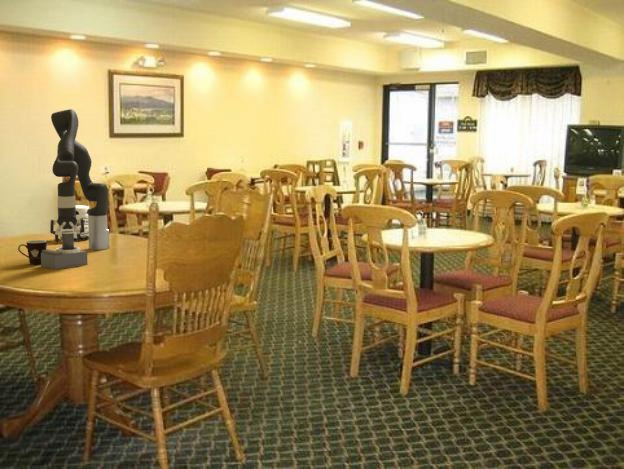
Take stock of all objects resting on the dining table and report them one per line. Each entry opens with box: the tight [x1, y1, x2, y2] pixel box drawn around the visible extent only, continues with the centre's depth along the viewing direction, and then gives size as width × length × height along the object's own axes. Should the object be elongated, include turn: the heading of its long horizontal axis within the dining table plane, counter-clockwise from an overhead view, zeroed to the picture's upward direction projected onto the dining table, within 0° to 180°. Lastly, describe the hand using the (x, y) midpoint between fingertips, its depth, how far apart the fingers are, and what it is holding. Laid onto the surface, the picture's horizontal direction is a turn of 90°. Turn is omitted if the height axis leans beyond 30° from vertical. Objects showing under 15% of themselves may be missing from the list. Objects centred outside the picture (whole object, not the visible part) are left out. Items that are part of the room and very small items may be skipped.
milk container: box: [58, 204, 90, 241], centre depth 389 cm, size 17×17×18 cm
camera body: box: [40, 246, 88, 270], centre depth 315 cm, size 16×11×8 cm
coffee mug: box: [17, 239, 48, 266], centre depth 319 cm, size 12×9×10 cm
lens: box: [61, 231, 75, 250], centre depth 316 cm, size 5×5×9 cm
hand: (67, 242), depth 316 cm, fingers open, 8 cm apart
